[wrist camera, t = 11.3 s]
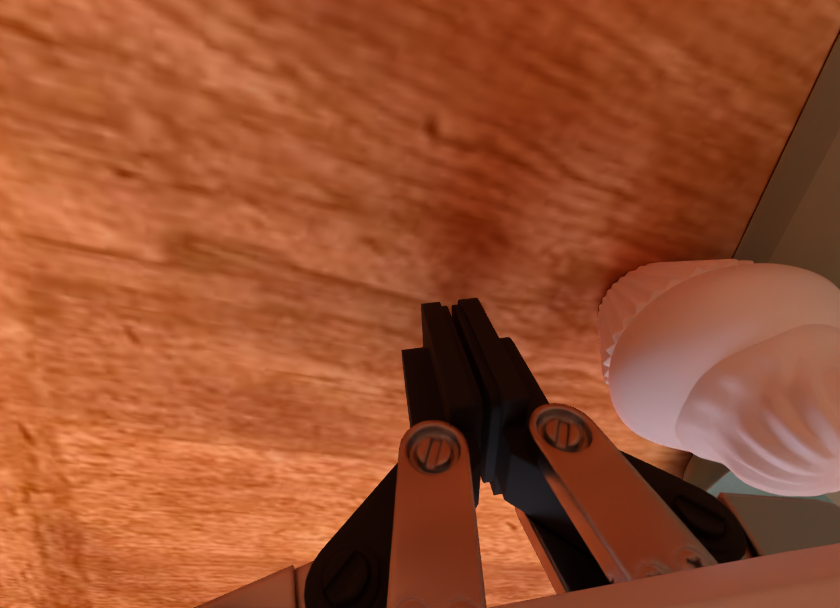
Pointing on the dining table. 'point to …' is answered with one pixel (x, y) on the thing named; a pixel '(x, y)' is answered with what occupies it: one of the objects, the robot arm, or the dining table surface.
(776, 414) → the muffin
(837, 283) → the wall
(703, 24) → the dining table surface
